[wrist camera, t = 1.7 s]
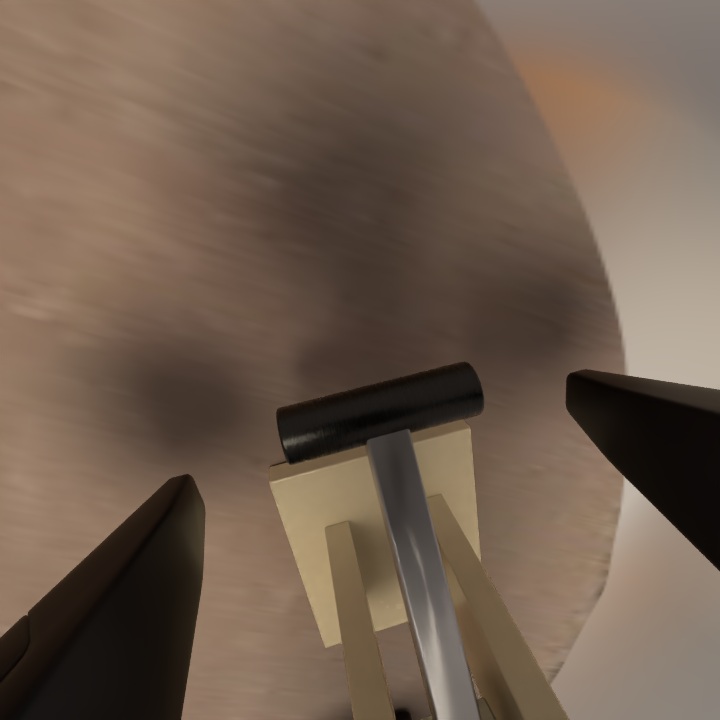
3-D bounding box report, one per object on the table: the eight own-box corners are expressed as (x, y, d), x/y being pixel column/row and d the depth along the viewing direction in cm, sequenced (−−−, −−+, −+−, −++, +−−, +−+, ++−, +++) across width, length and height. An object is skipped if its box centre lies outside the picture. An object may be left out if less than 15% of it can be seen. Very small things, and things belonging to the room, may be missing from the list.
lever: (280, 405, 11) (270, 412, 9) (450, 362, 12) (484, 358, 9) (386, 841, 11) (405, 970, 9) (554, 776, 11) (616, 880, 9)
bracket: (268, 466, 16) (260, 910, 6) (460, 414, 17) (728, 726, 7) (322, 628, 20) (370, 1054, 10) (475, 580, 21) (657, 926, 11)
